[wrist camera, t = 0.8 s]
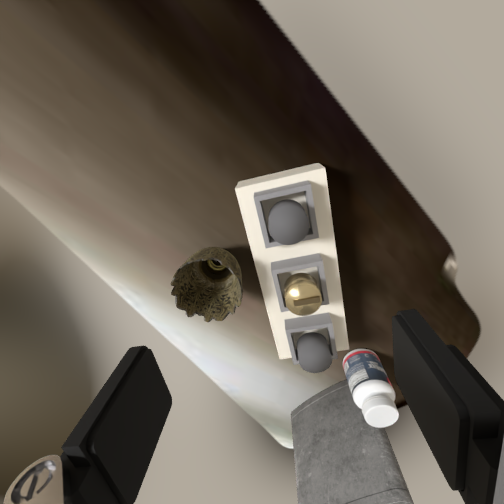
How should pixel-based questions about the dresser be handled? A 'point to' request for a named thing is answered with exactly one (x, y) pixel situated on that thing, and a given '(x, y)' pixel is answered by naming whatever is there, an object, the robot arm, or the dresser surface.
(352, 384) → the pill bottle
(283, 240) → the button
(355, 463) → the flask
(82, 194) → the dresser surface
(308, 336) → the button
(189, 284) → the olive hollow bell-shaped piece
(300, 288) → the brass knob
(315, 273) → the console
